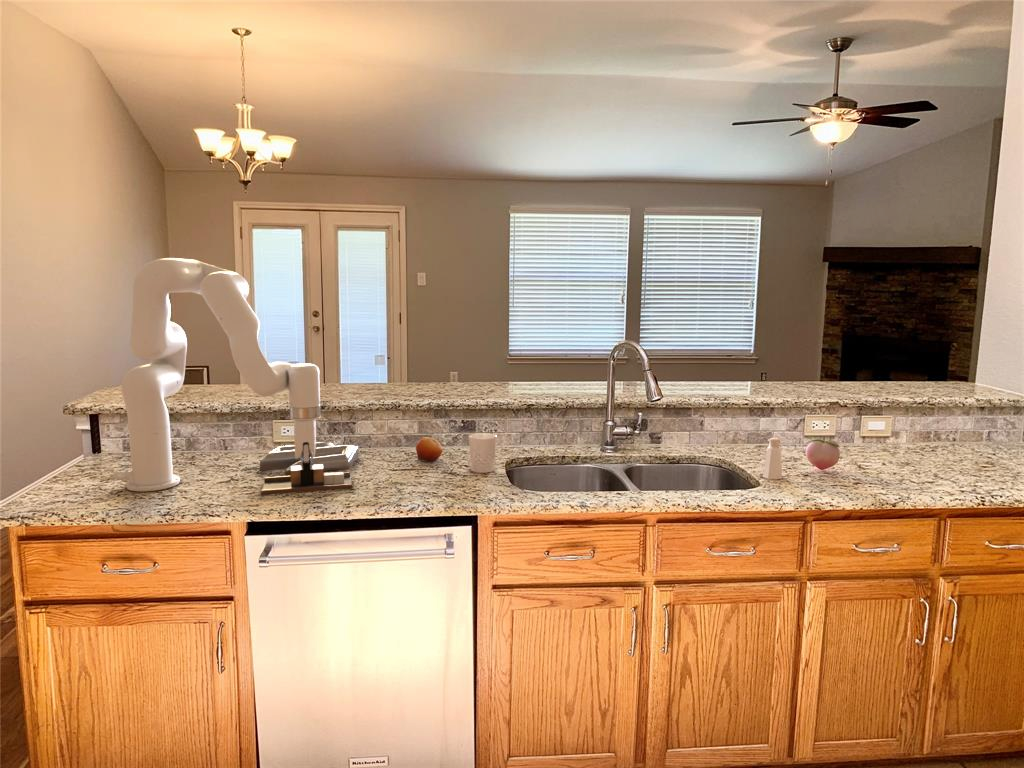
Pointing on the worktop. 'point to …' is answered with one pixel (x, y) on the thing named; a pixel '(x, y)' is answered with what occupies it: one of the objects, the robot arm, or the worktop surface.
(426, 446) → the fruit
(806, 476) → the worktop surface
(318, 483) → the eraser
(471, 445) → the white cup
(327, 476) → the chalk lump
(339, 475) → the chalk lump
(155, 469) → the robot arm
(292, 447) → the emblem
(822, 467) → the decorative fruit
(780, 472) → the pepper shaker
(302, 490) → the slate tray
